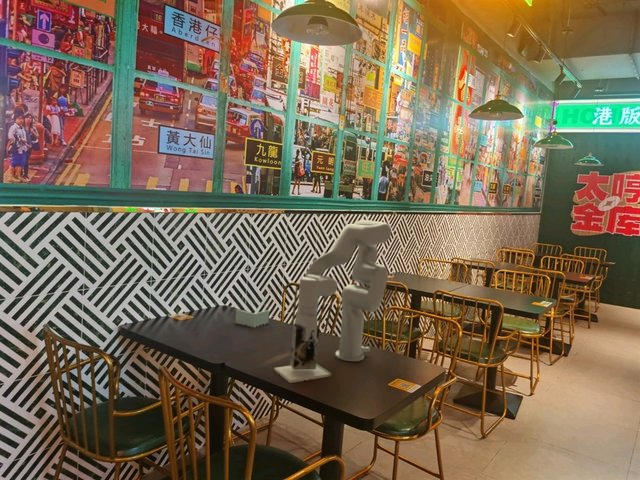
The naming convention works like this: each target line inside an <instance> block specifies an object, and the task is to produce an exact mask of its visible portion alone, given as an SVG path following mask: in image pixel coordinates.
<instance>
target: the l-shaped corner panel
mask: <svg viewBox="0 0 640 480" xmlns="http://www.w3.org/2000/svg"><path fill="white" fill-rule="evenodd" d="M269 316H270V310H269V309H267V310H263V311H259V312H256V313H253V312H249V311H246V310H242V309H236V310H235V324H238V325H242V326H245V325H247V326H246V327H249V326H250V327H249V328H253V327H254V328H257V327H260V326H259V325H261V326H263V325H262V324H264V325H266V323H267V324H269V318H270V317H269ZM256 326H257V327H256Z"/></svg>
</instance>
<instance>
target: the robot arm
mask: <svg viewBox="0 0 640 480" xmlns="http://www.w3.org/2000/svg"><path fill="white" fill-rule="evenodd" d="M391 235H392V227H391V226H390V225H389V224H388V223H387V222H384V221H376V220H369V219H360V220H357V221H356V222H355V223H348V224H346V225H345V226H344V227H343V228H342V229H341V232H340V233H339V235H338V237H337V239H336V240H335V242H334V244H333V245H332V247H331V249H330V250H329V251H328V252H326V253H324V254H322V255H321V256H320V257H318V258H317V259H315V260H314V261H313V262H312V263H311V265H310V266H309V268H308V269H307V271H306V272H305V274H304V277H301V278H300V281H299V291H298V301H297V302H298V303H297V311H296V315H295V321H294V324H296V325H298V326H300V327H302V328H303V341H304V342H307V347H308V348H306V359H310V358H313V357H314V348H315V346H316V345H317V343H318V344H319V338H318V339H317V337H316V336H317V327H318V308H319V307H318V305H319V297H330V296H333V295H335V293H336V292H337V290H338V282H337V281H336V279H334V278H333V277H330V276H326V275H324V274H323V273H324V272H326V271H327V270H329V269H330V268H333V267H338V266H342V265H344V264H347V263H348V262H349V261H350V259H351V257H352V256H353V253H354V252H355V251H356V249H357V247H358V251H357V254H356V258H355V261H354V265H353V267H352V270H351V271H352V272H351V278H352V280H353V281H354V282H355V283H359V284H363V285H368V286H369V287H366V286H361V285H359V284H358V285H357V284H348V285H346V286H344V287H343V289H342V291H341V296H340V297H341V306H342V308H341V309H342V313H341V323H340V324H341V325H340V338H339V347H338V348H339V349H338V350H336V351H335V354H334V355H335V357H336V358H337V359H339V360H342V361H345V362H346V361H347V362H360V361H363V360H364V359H365V355H364V353H366V352H370V350H371V348H370V346H364V345H363V344H362V343H363V336H364V335H363V334H364V323H365V316H364V312H363V311H365V312H370V313H374V312H376V311H377V310H379V308H380V306H381V303H382V300H383V298H384V297H383V296H384V293H385V290H386V287H387V285H388V279H389V272H388V268H387V267H386V266H384V265H383V264H379V263H376V261H377V258H378V254H379V253H378V252H379V251H378V248H377V246H378V245H381V244H384V243H387V241H389V239H390V238H391ZM322 274H323V275H322ZM311 336H312V339H313V340H309V339H310V337H311ZM309 342H312V343H311V344H310V343H309Z"/></svg>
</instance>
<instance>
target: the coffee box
mask: <svg viewBox="0 0 640 480" xmlns="http://www.w3.org/2000/svg"><path fill="white" fill-rule="evenodd" d="M292 326H293V327H292V338H291V350H290V360H289V366H291V367H292V368H293V369H294V370H299V369H316V364H317V359H318V347H319V342H318V343H317V345H316V346H315V348H314V357H313V358H310V359H306V348H308V347H307V342H304V341H303V328H302V327H300V326H298V325H296V324H295V323H294V324H293V325H292ZM319 336H320V328H319V326H317V336H316V337H317V339H318V340H319ZM309 340H313V339H312V336H311V337H310V339H309ZM309 343H310V344H311V343H312V342H309Z"/></svg>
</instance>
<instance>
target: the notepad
mask: <svg viewBox="0 0 640 480" xmlns="http://www.w3.org/2000/svg"><path fill="white" fill-rule="evenodd" d="M273 372H275V373H277V374H278V375H279V374H280V375H279V376H281V377H282V378H283V379H284V380H285V381H287V382H288V383H290V384H292V383H297V382H303V381H304V380H305V381H310V379H311V380H316V379H323V378H327V377H332V373H331V372H330V371H329V370H327V369H326V368H324V367H322V366H320V365H319V364H318V363H316V369H299V370H294V369H293V368H292V367H291V365H286V366H285V365H283V366H279V367H273Z"/></svg>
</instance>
